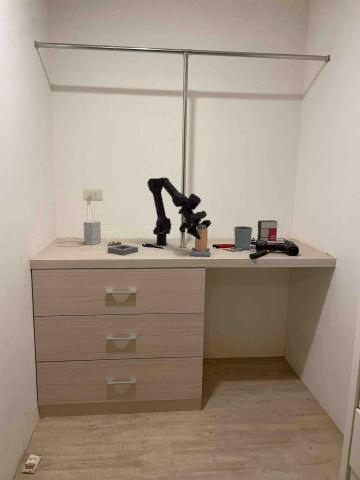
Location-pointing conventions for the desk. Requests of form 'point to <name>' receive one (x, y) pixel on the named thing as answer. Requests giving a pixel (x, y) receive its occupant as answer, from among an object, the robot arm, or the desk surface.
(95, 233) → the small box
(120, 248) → the socket block
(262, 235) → the grey upright box
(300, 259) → the desk surface
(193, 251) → the tray
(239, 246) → the blue-grey cup
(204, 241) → the plug
